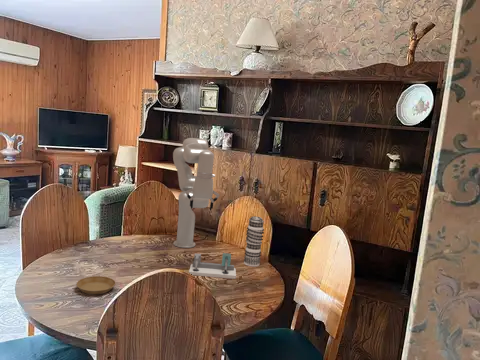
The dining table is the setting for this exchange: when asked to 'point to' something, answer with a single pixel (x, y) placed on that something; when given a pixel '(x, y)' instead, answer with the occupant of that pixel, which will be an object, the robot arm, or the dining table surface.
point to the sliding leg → (226, 260)
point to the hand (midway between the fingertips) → (201, 208)
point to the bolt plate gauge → (211, 269)
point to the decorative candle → (254, 241)
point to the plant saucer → (95, 284)
